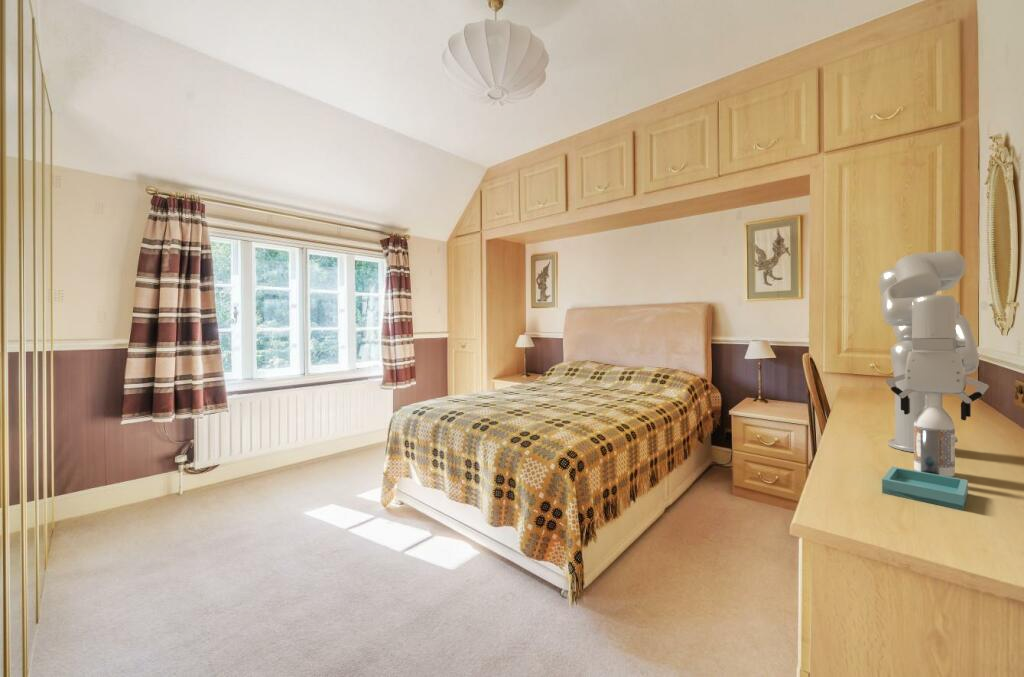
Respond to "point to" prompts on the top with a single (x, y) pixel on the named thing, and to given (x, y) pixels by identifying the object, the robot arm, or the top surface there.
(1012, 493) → the top surface
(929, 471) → the post
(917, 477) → the holder tray
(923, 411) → the bath foam
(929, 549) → the top surface
